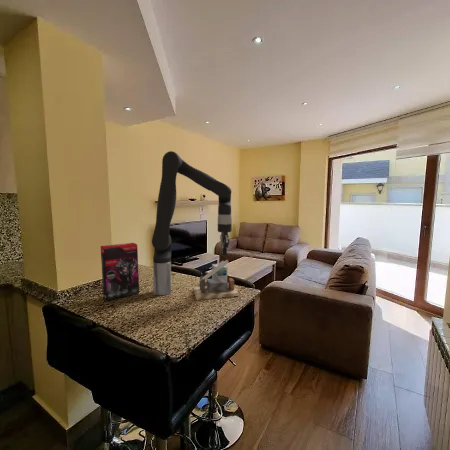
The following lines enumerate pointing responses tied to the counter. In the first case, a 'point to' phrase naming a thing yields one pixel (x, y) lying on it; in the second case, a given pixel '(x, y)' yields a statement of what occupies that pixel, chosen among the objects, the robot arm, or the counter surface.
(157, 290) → the robot arm
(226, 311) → the counter surface
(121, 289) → the graphics card box
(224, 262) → the strap
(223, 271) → the light bulb box
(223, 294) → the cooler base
